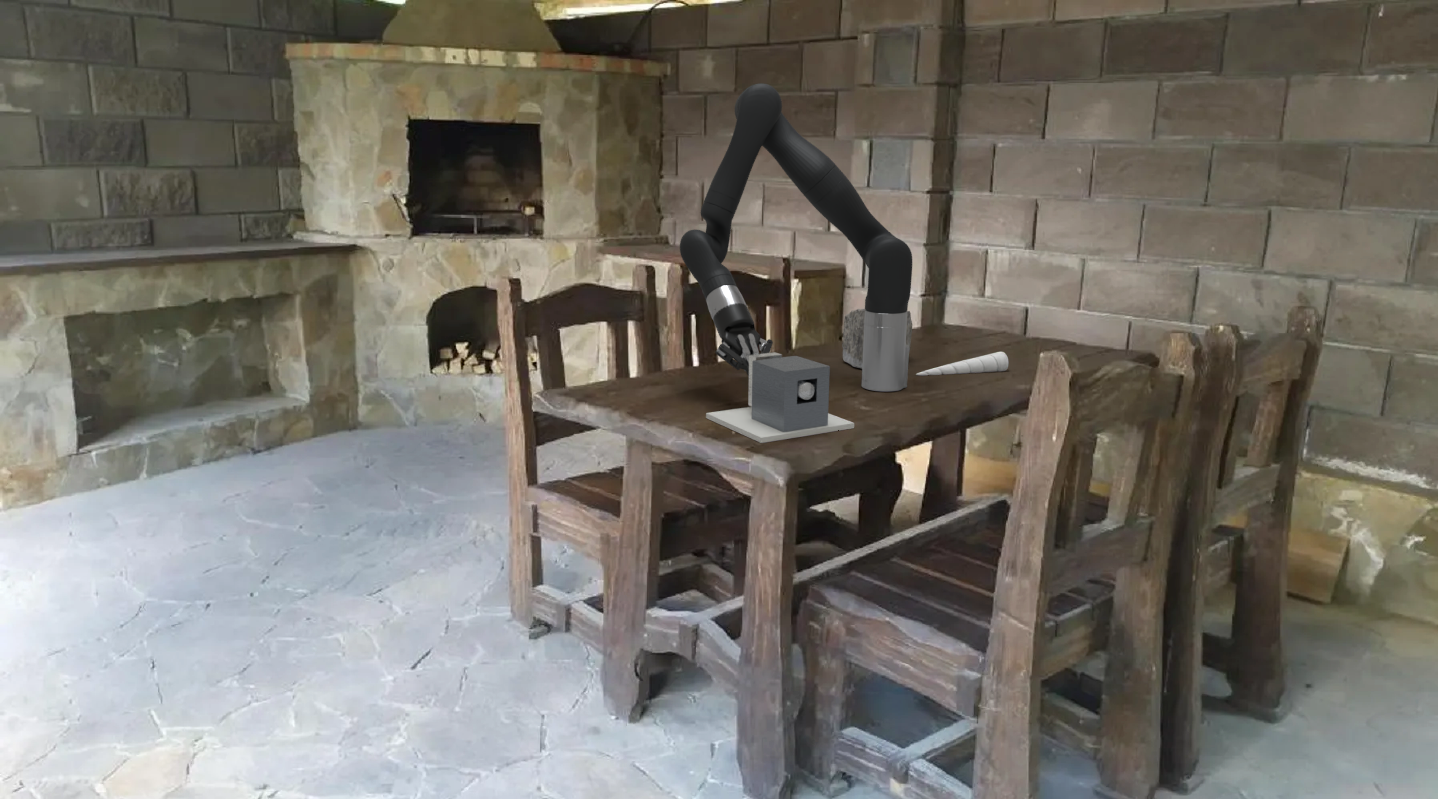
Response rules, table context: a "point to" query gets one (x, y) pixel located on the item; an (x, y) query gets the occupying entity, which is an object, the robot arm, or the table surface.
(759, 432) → the base plate
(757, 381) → the block
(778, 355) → the shaft
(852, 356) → the petrified wood
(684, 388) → the table surface
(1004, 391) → the table surface
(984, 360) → the unicorn horn
